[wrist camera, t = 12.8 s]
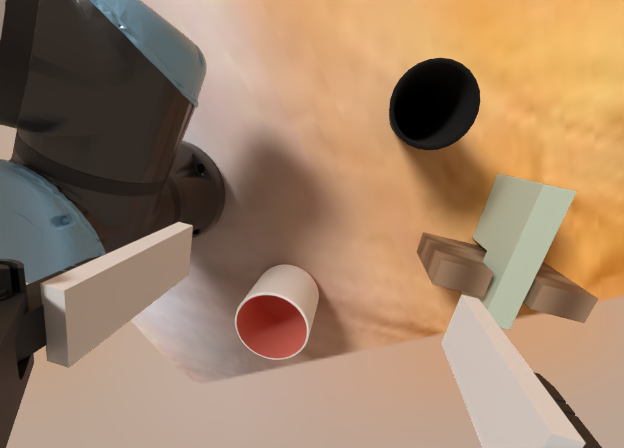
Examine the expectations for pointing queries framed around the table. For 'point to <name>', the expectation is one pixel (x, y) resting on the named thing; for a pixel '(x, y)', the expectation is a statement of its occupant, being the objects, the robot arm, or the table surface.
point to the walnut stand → (476, 275)
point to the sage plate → (517, 239)
